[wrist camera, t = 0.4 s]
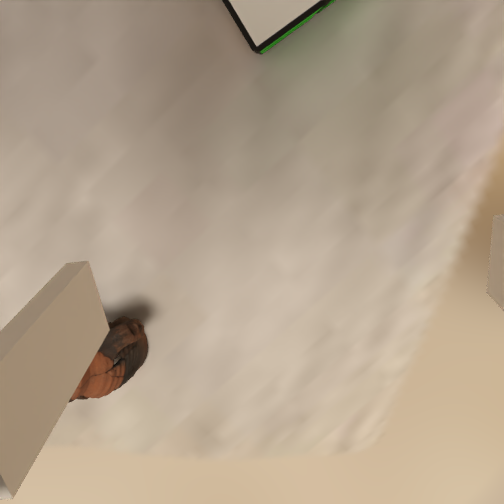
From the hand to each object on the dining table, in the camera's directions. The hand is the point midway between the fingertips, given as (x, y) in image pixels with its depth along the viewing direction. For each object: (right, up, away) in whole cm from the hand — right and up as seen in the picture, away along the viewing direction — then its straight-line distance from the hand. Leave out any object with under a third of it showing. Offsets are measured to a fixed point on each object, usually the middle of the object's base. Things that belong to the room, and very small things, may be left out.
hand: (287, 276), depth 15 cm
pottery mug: (-16, -7, +31) cm, 36 cm away
